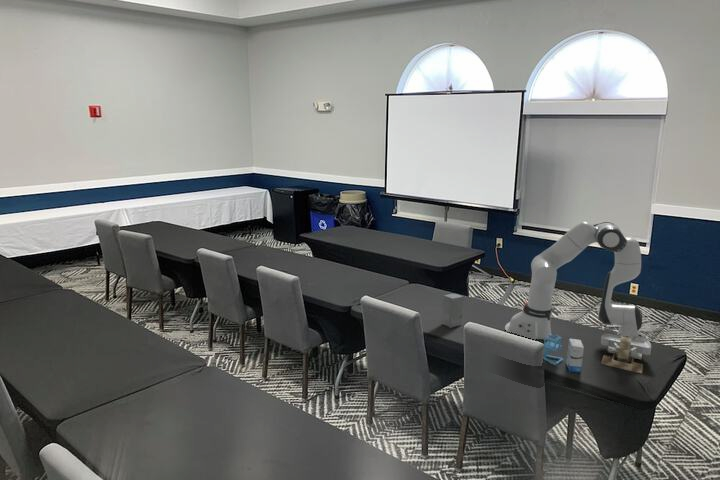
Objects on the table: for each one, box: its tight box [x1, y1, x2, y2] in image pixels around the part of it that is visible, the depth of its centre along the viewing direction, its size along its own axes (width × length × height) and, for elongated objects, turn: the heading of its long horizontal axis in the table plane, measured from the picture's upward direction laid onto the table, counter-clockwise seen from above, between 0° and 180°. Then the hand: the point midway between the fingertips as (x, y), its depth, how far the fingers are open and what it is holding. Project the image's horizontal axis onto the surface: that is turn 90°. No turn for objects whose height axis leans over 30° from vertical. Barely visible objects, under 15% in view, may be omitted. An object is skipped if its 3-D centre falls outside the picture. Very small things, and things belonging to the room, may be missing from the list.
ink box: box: [565, 338, 585, 373], centre depth 227 cm, size 8×5×12 cm, turn 168°
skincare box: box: [441, 293, 464, 329], centre depth 269 cm, size 8×7×16 cm
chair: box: [542, 334, 564, 367], centre depth 234 cm, size 8×8×12 cm
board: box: [607, 346, 643, 360], centre depth 244 cm, size 14×10×1 cm
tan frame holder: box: [600, 352, 644, 375], centre depth 232 cm, size 16×9×3 cm, turn 59°
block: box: [616, 336, 631, 363], centre depth 231 cm, size 4×5×12 cm
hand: (624, 350), depth 230 cm, fingers closed on block, 4 cm apart
